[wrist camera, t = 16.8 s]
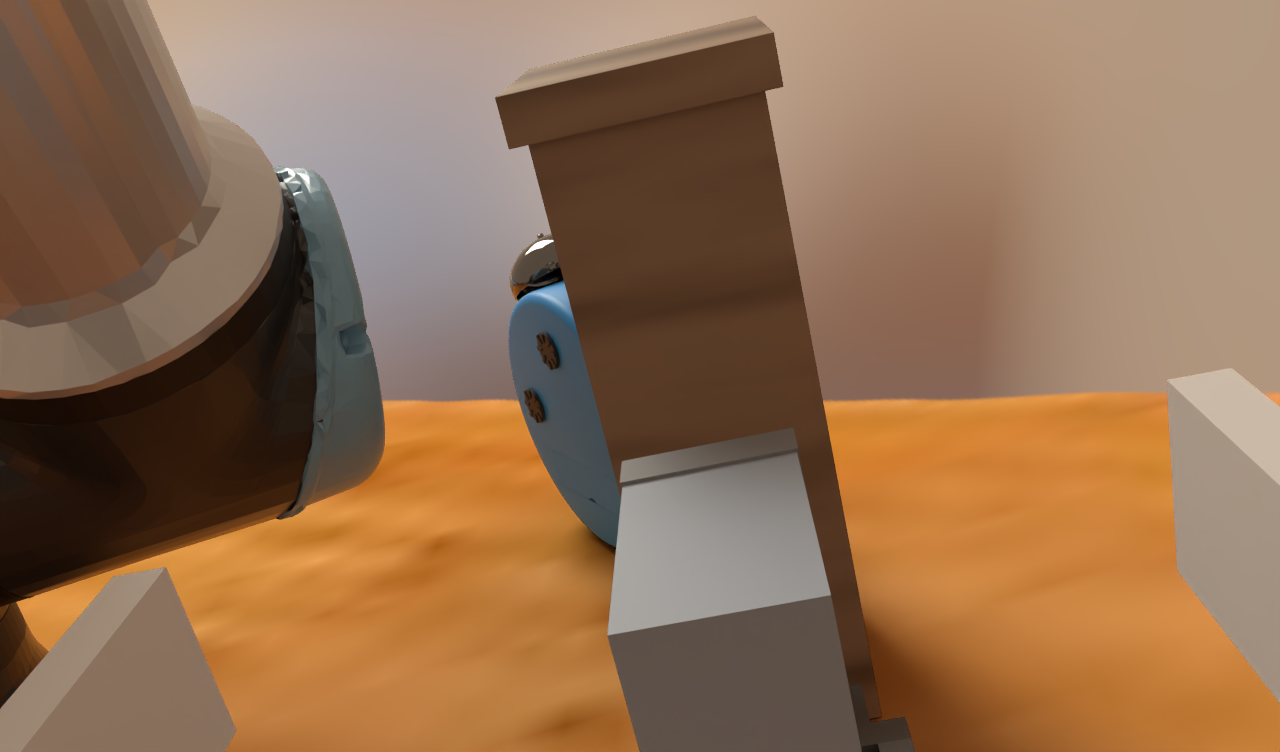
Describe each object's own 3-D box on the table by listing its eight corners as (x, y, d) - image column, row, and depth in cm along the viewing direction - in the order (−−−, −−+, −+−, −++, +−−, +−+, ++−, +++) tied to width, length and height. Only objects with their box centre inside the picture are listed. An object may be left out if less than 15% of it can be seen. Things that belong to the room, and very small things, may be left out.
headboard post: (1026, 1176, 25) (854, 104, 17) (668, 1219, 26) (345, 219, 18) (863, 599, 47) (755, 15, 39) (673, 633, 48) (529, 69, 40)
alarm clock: (778, 539, 53) (713, 231, 48) (668, 597, 50) (587, 278, 45) (639, 466, 64) (574, 209, 59) (543, 511, 62) (467, 246, 57)
